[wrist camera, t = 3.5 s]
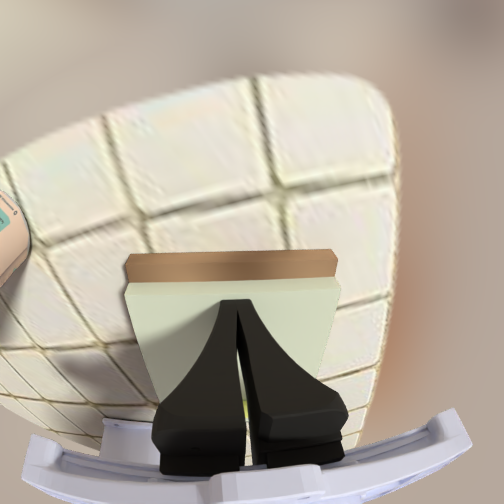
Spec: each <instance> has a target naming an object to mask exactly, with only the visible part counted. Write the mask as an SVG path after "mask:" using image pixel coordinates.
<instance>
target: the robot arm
mask: <svg viewBox="0 0 504 504" xmlns="http://www.w3.org/2000/svg"><path fill="white" fill-rule="evenodd" d="M237 351H238V356H239V361H240V366H241V372H242V377H243V382H244V386H245V392H246V400H247V410H248V420H249V430H250V441H251V452H252V463H253V465H252V466H245V453H246V432H247V429H246V419H245V412H244V406H243V399H242V393H241V385H240V378H239V370H238V362H237ZM348 417H349V415H348V412H347V409H346V406H345V404H344V402H343V400H342V399H341V397H340V395H339V393H338V392H336V391H334V390H333V389H331V388H329V387H328V386H326V385H324V384H323V383H321V382H320V381H318V380H317V379H315V378H314V377H313V376H311V375H310V374H309V373H308V372H307V371H305V370H304V369H303V368H302V367H301V366H299V365H298V364H297V363H296V362H295V361H294V360H293V359H292V358H291V357H290V356H289V355H288V354H287V353H286V352H285V351H284V350H283V349H282V348H281V346H280V345H279V344H278V343H277V341H276V340H275V339H274V338H273V336H272V335H271V334H270V332H269V331H268V329H267V328H266V326H265V325H264V323H263V322H262V320H261V319H260V317H259V315H258V313H257V312H256V310H255V308H254V305H253V303H252V301H251V300H250V299H229V300H221V301H220V306H219V311H218V315H217V318H216V321H215V324H214V326H213V329H212V332H211V334H210V336H209V338H208V340H207V342H206V344H205V346H204V348H203V350H202V352H201V354H200V355H199V357H198V359H197V360H196V362H195V363H194V365H193V366H192V368H191V369H190V371H189V372H188V373H187V375H186V376H185V377H184V378H183V380H182V381H181V382H180V383H179V384H178V386H177V387H176V388H175V389H174V390H173V391H172V392H171V393H170V394H169V395H168V396H167V397H166V398H165V399H164V400H163V401H162V402H161V403H160V404H159V406H158V409H157V411H156V414H155V417H154V420H153V423H146V422H135V421H125V420H117V419H109V418H103V420H102V423H103V424H104V425H105V427H104V432H103V437H102V443H101V449H100V455H99V457H97V456H93V455H88V454H84V453H80V452H76V451H72V450H68V449H64V448H63V447H62V446H61V445H60V444H59V443H57V442H56V441H54V440H52V439H49V438H46V437H43V436H39V435H36V434H32V435H31V438H30V442H29V445H28V449H27V453H26V457H25V461H24V466H23V470H22V475H21V478H22V480H24V481H25V482H27V483H29V484H30V485H32V486H34V487H36V488H37V489H39V490H41V491H43V492H45V493H47V494H49V495H51V496H53V497H56V498H58V499H61V500H64V501H67V502H70V503H73V504H362V503H365V502H367V501H370V500H373V499H376V498H378V497H381V496H383V495H386V494H388V493H391V492H393V491H395V490H398V489H400V488H402V487H405V486H407V485H409V484H411V483H413V482H415V481H417V480H420V479H422V478H424V477H426V476H428V475H430V474H431V473H434V472H435V471H437V470H439V469H441V468H443V467H445V466H446V465H448V464H449V463H451V462H452V461H453V460H455V459H456V458H457V457H459V456H460V455H461V454H463V453H464V452H465V451H467V450H468V449H469V448H471V447H472V445H473V444H472V442H471V440H470V438H469V436H468V434H467V432H466V430H465V428H464V426H463V424H462V422H461V420H460V418H459V416H458V414H457V413H456V411H455V409H454V408H453V407H452V408H450V409H448V410H445V411H443V412H441V413H439V414H437V415H435V416H434V417H432V418H431V419H430V420H429V421H428V422H427V424H426V425H423V426H421V427H418V428H416V429H413V430H410V431H408V432H405V433H402V434H399V435H397V436H394V437H391V438H388V439H385V440H381V441H378V442H375V443H372V444H368V445H365V446H361V447H358V448H354V449H350V450H346V451H344V450H343V447H342V444H341V440H342V435H341V432H340V430H341V429H342V427H343V426H344V424H345V423H346V421H347V419H348Z"/></svg>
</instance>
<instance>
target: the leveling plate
mask: <svg viewBox="0 0 504 504" xmlns="http://www.w3.org/2000/svg"><path fill="white" fill-rule="evenodd" d="M340 292H341V287H340V285H339V283H338V282H337V280H336V278H335V277H318V278H297V279H274V280H246V281H212V282H153V283H129V284H128V287H127V289H126V292H125V294H124V296H125V300H126V304H127V307H128V311H129V315H130V318H131V321H132V325H133V328H134V331H135V335H136V338H137V341H138V344H139V347H140V350H141V353H142V356H143V359H144V362H145V365H146V368H147V370H148V373H149V376H150V379H151V381H152V384H153V387H154V389H155V392H156V394H157V397H158V399H159V402H160V403H161V402H162V401H163V400H164V399H165V398H166V397H167V396H168V395H169V394H170V393H171V392H172V391H173V390H174V389H175V388H176V387H177V386H178V384H179V383H180V382H181V381H182V380H183V378H184V377H185V376H186V375H187V373H188V372H189V371H190V369H191V368H192V366H193V365H194V363H195V362H196V360H197V359H198V357H199V355H200V354H201V352H202V350H203V348H204V346H205V344H206V342H207V340H208V338H209V336H210V334H211V332H212V329H213V326H214V324H215V321H216V318H217V315H218V311H219V306H220V301H221V300H229V299H250V300H251V301H252V303H253V305H254V308H255V310H256V312H257V313H258V315H259V317H260V319H261V320H262V322H263V323H264V325H265V326H266V328H267V329H268V331H269V332H270V334H271V335H272V336H273V338H274V339H275V340H276V341H277V343H278V344H279V345H280V346H281V348H282V349H283V350H284V351H285V352H286V353H287V354H288V355H289V356H290V357H291V358H292V359H293V360H294V361H295V362H296V363H297V364H298V365H299V366H301V367H302V368H303V369H304V370H305V371H307V372H308V373H309V374H310V375H311V376H313V377H314V378H315V379H316V377H317V374H318V371H319V367H320V364H321V361H322V358H323V354H324V351H325V348H326V344H327V341H328V337H329V334H330V330H331V327H332V323H333V319H334V315H335V312H336V308H337V304H338V300H339V296H340ZM237 362H238V370H239V378H240V385H241V393H242V399H243V406H244V412H245V419H246V422H249V420H248V410H247V400H246V392H245V386H244V382H243V377H242V372H241V366H240V361H239V356H238V351H237Z"/></svg>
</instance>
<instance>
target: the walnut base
mask: <svg viewBox="0 0 504 504" xmlns="http://www.w3.org/2000/svg"><path fill="white" fill-rule="evenodd" d="M337 262H338V258H337V257H336V255H335V254H334V252H333V251H332V250H331V249H319V250H276V251H234V252H193V253H152V254H130V256H129V258H128V260H127V262H126V264H125V266H126V271H127V275H128V280H129V283H153V282H212V281H246V280H274V279H297V278H318V277H334V276H335V272H336V267H337Z"/></svg>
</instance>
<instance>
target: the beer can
mask: <svg viewBox="0 0 504 504" xmlns="http://www.w3.org/2000/svg"><path fill="white" fill-rule="evenodd" d="M29 247H30V238H29V230H28V226H27V222H26V220H25V217H24V215H23V213H22V211H21V209H20V207H19V206H18V204H17V203H16V202H15V201H14V200H13V199H12V198H11V197H10V196H9V195H8V194H7V193H5V192H4V191H2V190H0V288H1V287H2V285H3V284H4V283H5V282H6V280H7V279H8V278H9V277H10V276H11V274H12V273H13V272H14V271H15V270H16V269H17V268H18V266H19V265H21V264H22V263H23V262H24V261H25V259H26V258H27V256H28V252H29Z"/></svg>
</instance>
